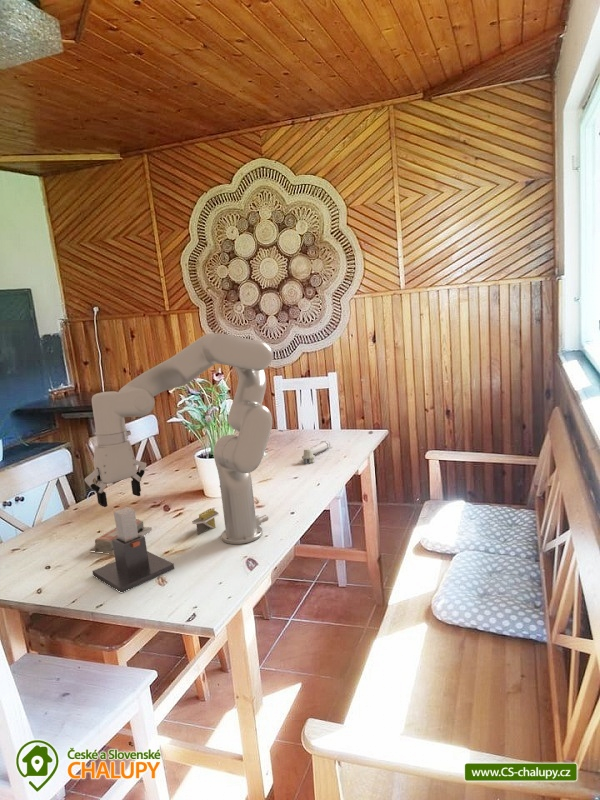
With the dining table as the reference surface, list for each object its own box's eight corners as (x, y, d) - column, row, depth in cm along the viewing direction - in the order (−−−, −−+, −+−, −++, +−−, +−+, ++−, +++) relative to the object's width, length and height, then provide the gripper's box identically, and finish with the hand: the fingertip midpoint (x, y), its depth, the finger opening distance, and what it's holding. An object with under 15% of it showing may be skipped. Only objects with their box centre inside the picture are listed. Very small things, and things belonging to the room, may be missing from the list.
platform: (240, 523, 188) (238, 504, 186) (203, 546, 173) (201, 525, 171) (212, 518, 194) (210, 500, 193) (174, 540, 179) (172, 520, 178)
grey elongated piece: (331, 440, 265) (310, 447, 242) (332, 454, 265) (311, 463, 243) (320, 440, 267) (299, 447, 244) (321, 454, 268) (300, 463, 245)
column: (135, 561, 161) (127, 506, 158) (143, 565, 158) (134, 509, 155) (122, 567, 158) (113, 511, 156) (129, 571, 155) (120, 514, 153)
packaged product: (113, 541, 170) (87, 539, 174) (116, 556, 171) (90, 553, 175) (150, 517, 187) (126, 516, 191) (152, 531, 188) (128, 529, 191)
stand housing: (144, 554, 170) (139, 522, 168) (174, 568, 159) (169, 534, 157) (93, 576, 159) (87, 542, 157) (121, 593, 148) (115, 557, 146)
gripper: (134, 430, 160) (142, 489, 163) (74, 444, 148) (83, 507, 151) (148, 433, 155) (156, 493, 158) (86, 448, 143) (96, 513, 146)
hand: (120, 500), depth 155 cm, fingers open, 9 cm apart
